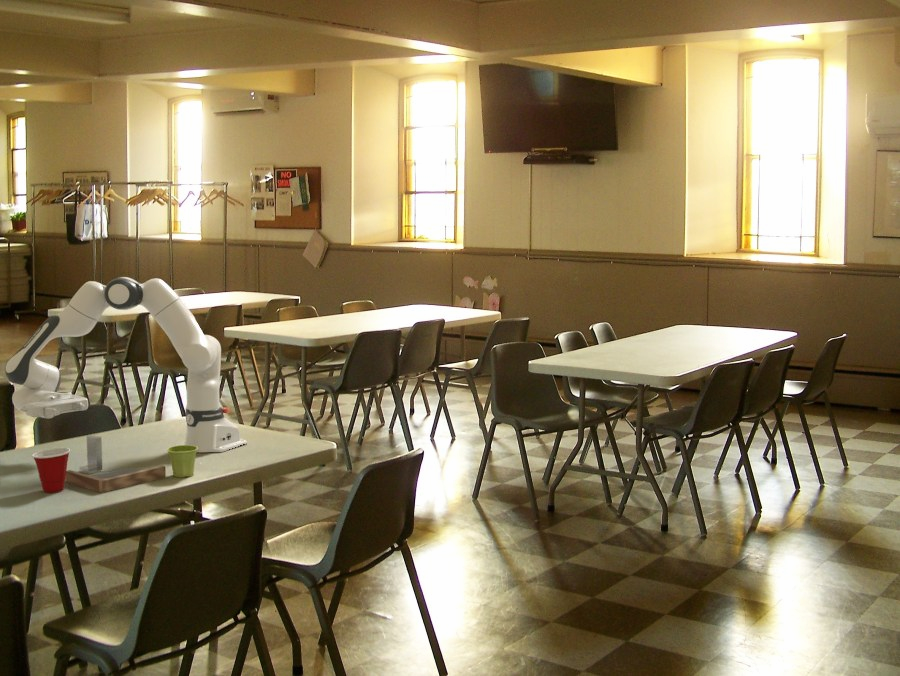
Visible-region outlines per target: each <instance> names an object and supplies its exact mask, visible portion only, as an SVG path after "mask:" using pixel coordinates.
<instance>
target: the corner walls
mask: <svg viewBox="0 0 900 676" xmlns="http://www.w3.org/2000/svg"><path fill="white" fill-rule="evenodd" d="M140 470H141V469H140ZM166 471H167V469H166V466H164V465H159V466H155V467H151V468H147V469H142V470H141V471H137V472H133V473H128V474H124V475H120V476H115V477H111V478H107V479H100V478H97V477H93V475H90V474H87V473H83V472H77V471H74V470H70V469H68V470H67V471H66V479H65V483H67V482H69V483H68V484H70V483H72V484H71V485H74V484H75V485H74V486H77V485H79V486H78V487H81V486H82V487H81V488H84V487H86V488H85V489H88V488H89V489H88V490H91V489H92V490H91V491H95V490H96V491H95V492H98V491H99V493H101V492H104V493H107V492H111V491H110V490H112V491H115V490H114V489H116V490H119V489H118V488H120V489H123V488H122V487H124V488H127V486H128V487H131V486H137V485H140V484H143V483H149V482H152V481H157V480H159V479H164V478H167V477H166V475H167V474H166V473H167V472H166ZM106 491H107V492H106Z"/></svg>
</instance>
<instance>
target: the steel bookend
mask: <svg viewBox="0 0 900 676" xmlns="http://www.w3.org/2000/svg"><path fill="white" fill-rule="evenodd" d="M102 443H103V442H102V436H99V435H98V436H97V435H94V434H90V435H86V457H87V459H86V460H87V465H82V466H79V472H80V471H81V472H80V473H83V472H85V473H84V474H87V473H88V474H87V475H90V473H91V474H94V472H96V473H99V472H98V471H100V472H102V471H101V470H103V449H102V445H103V444H102Z"/></svg>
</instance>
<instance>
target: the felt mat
mask: <svg viewBox="0 0 900 676" xmlns="http://www.w3.org/2000/svg"><path fill="white" fill-rule="evenodd" d="M137 471H141V469H136V468H133V467H129V466H128V467H124V468H120V469H115V470H111V471H106V472H101V473H99V474H95V475H92V476H93V477H97V478H100V479H107V478H111V477H115V476H120V475H124V474H128V473H133V472H137Z"/></svg>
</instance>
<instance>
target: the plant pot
mask: <svg viewBox="0 0 900 676" xmlns="http://www.w3.org/2000/svg"><path fill="white" fill-rule="evenodd" d="M197 450H198V447H197V446H193V445H184V444H181V445H174V446H169V447H167V449H166V451H167V452H168V456H169V459H170V463H171V464H170V465H171V470H172V474H173V476H174V477H175V478H182V479H183V478H185V477H192V476H193V475H194V474H195V473H194V472H195V463H196V455H197V453H198V452H197Z"/></svg>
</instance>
